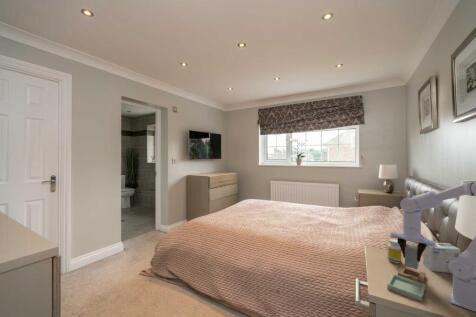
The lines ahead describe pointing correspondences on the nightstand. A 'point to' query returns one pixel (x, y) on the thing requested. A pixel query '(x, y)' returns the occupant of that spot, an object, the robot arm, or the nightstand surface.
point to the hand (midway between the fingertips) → (411, 258)
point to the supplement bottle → (394, 251)
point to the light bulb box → (440, 256)
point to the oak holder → (411, 271)
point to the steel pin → (411, 256)
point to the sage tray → (406, 287)
